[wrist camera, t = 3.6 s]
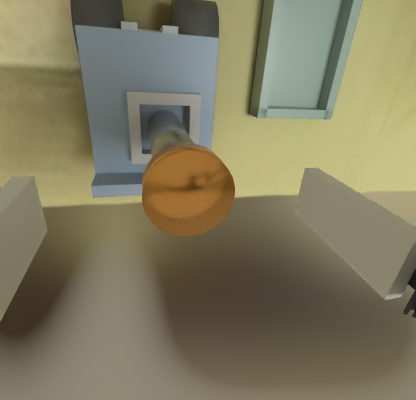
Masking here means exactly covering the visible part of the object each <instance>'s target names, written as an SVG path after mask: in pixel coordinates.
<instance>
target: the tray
mask: <svg viewBox="0 0 416 400" xmlns="http://www.w3.org/2000/svg"><path fill="white" fill-rule="evenodd" d="M362 1H363V0H264V3H263V11H262V19H261V27H260V34H259V42H258V50H257V58H256V66H255V74H254V81H253V89H252V97H251V105H250V113H249V114H251V115H253V116H255V117H257V118H287V119H331V118H332V114H333V110H334V107H335V103H336V99H337V95H338V91H339V88H340V84H341V80H342V76H343V73H344V69H345V65H346V61H347V58H348V54H349V50H350V46H351V43H352V39H353V35H354V31H355V28H356V24H357V20H358V16H359V13H360V9H361V5H362Z"/></svg>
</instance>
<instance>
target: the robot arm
mask: <svg viewBox="0 0 416 400" xmlns="http://www.w3.org/2000/svg"><path fill="white" fill-rule="evenodd" d="M295 213H296V214H297V215H298V216H299V217H300V218H301V219H302V220H303V221H304V222H305V223H306V224H307V225H308V226H309V227H310V228H311V229H312V230H313V231H315V233H317V234H318V235H319V236H320V237H321V238H322V239H323V240H324V241H325V242H326V243H327V244H328V245H329V246H330V247H331V248H332V249H333V250H334V251H335V252H336V253H337V254H338V255H339V256H340V257H341V258H342V259H343V260H345V262H346V263H348V264H349V265H350V266H351V267H352V268H353V269H354V270H355V271H356V272H357V273H358V274H359V275H360V276H361V277H362V278H363V279H364V280H365V281H366V282H367V283H368V284H369V285H370V286H371V287H372V288H373V289H374V290H375V291H376V292H377V293H379V294H380V295H381V296H382V297H383V298H384V299H391V298H397V297H401V296H402V294H403V292H404V291H405V289H406V287H407V285H408V284H409V285H410V286H411V287H412V288H413V289H414V290H415V291H414V293H413V295H412V297H411V298H410V300H409V302H408V304H407V306H406V307H405V309H404V314H406V315H407V314H408V312H409V311H410V310H414V311H415V312H414V313H413V315H412V317H415V318H416V227H415V226H413V225H411V224H410V223H408V222H407V221H405V220H403V219H402V218H400V217H398V216H397V215H395V214H393V213H392V212H390V211H388V210H387V209H385V208H383V207H382V206H380V205H378V204H377V203H375V202H373V201H372V200H370V199H368V198H367V197H365V196H363V195H362V194H360V193H358V192H357V191H355V190H353V189H352V188H350V187H348V186H347V185H345V184H343V183H342V182H340V181H338V180H337V179H335V178H333V177H332V176H330V175H328V174H327V173H325V172H323V171H322V170H320V169H318V168H305V170H304V175H303V179H302V183H301V187H300V191H299V195H298V200H297V204H296V208H295ZM46 232H47V226H46V222H45V218H44V215H43V210H42V206H41V202H40V199H39V195H38V191H37V187H36V183H35V179H34V176H26V177H13V178H12V179H11V180H10V181H8V182H7V183H6V184H5V185H4V186H3V187H2V188H1V189H0V321H1V319H2V317H3V315H4V313H5V311H6V309H7V307H8V305H9V303H10V302H11V299H12V298H13V296H14V294H15V292H16V290H17V288H18V286H19V284H20V282H21V280H22V278H23V276H24V275H25V273H26V271H27V269H28V267H29V265H30V263H31V261H32V259H33V257H34V255H35V253H36V252H37V250H38V248H39V246H40V244H41V242H42V240H43V238H44V236H45V234H46Z"/></svg>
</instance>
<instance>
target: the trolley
mask: <svg viewBox="0 0 416 400" xmlns="http://www.w3.org/2000/svg"><path fill="white" fill-rule="evenodd" d="M71 13H72V22H73V29H74V35H75V41H76V46H77V50H78V54H79V59H80V66H81V73H82V80H83V87H84V94H85V101H86V108H87V115H88V122H89V129H90V136H91V143H92V150H93V157H94V164H95V171H96V175H95V177H94V180H93V183H92V185H91V187H92V194H93V197H114V196H137V195H142V178H143V173H144V170H145V168H146V166H147V164H148V163H149V161H150V160H151V159H152V155H151V147H150V139H149V132H148V122H149V119H150V117H151V116H152V115H153V114H154V113H156V112H158V111H161V110H166V111H170V112H172V113H173V114H175V115H176V116H177V118H178V119H179V121H180V122H181V124H182V126H183V127H184V129H185V130H186V132H187V133H188V135H189V136H190V138H191V139H192V141H193V143H195V144H199V145H202V146H205V147H207V148H208V149H210V150H211V147H212V132H213V117H214V103H215V88H216V73H217V59H218V44H219V16H218V9H217V5H216V3H215V2H212V1H204V0H172V6H171V18H170V26H166V25H162V27H161V28H160V30H149V29H138V26H137V23H135V22H125V21H124V16H123V5H122V0H71Z"/></svg>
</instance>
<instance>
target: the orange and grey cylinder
mask: <svg viewBox="0 0 416 400" xmlns="http://www.w3.org/2000/svg"><path fill="white" fill-rule="evenodd" d="M148 132H149V139H150V147H151V155H152V159H151V160H150V161H149V163H148V164H147V166H146V168H145V170H144V173H143V178H142V201H143V206H144V210H145V212H146V214H147V216H148V218H149V219H150V221H151V222H152V223H153V224H154V225H155V226H157V227H158V228H159V229H161V230H162V231H165V232H167V233H170V234H173V235H179V236H191V235H197V234H200V233H203V232H206V231H208V230H210V229H212V228H213V227H215V226H216V225H217V224H219V223H220V222H221V221H222V220H223V219H224V218H225V216H226V215H227V214H228V212H229V210H230V209H231V206H232V204H233V201H234V196H235V185H234V181H233V178H232V175H231V173H230V172H229V170H228V169H227V167H226V166H225V165H224V164H223V162H222V161H221V160H220V159H219V157H218V156H217V155H216V154H215V153H214V152H213V151H211V150H210V149H208V148H207V147H205V146H202V145H199V144H195V143H193V141H192V139H191V138H190V136H189V135H188V133H187V132H186V130H185V129H184V127H183V126H182V124H181V122H180V121H179V119H178V118H177V116H176V115H175V114H173V113H172V112H170V111H166V110H161V111H158V112H156V113H154V114H153V115H152V116H151V117H150V119H149V122H148Z"/></svg>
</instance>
